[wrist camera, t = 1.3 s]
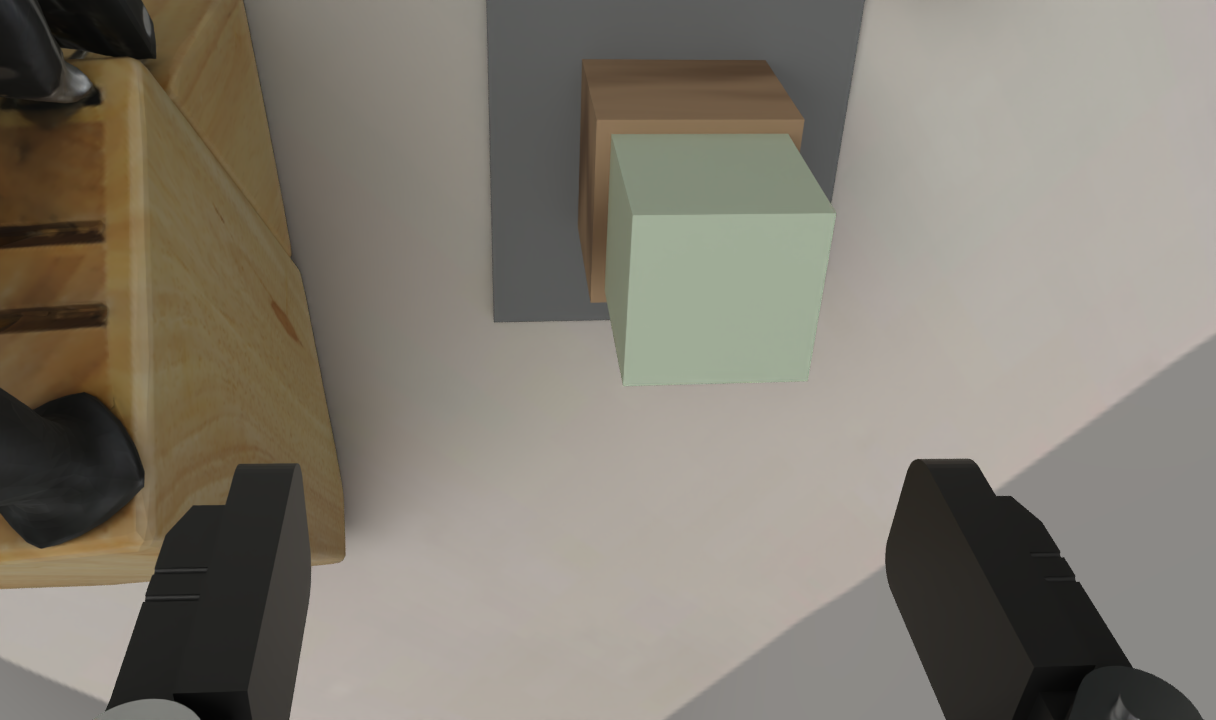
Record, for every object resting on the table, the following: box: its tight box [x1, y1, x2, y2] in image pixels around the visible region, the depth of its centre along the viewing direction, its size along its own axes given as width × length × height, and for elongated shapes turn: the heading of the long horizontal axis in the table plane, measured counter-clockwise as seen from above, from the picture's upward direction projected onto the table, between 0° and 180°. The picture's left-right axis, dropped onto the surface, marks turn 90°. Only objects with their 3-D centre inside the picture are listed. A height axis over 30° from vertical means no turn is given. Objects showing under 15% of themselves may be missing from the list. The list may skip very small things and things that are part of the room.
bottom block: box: [578, 59, 805, 303], centre depth 41 cm, size 7×7×6 cm
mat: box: [487, 0, 865, 322], centre depth 44 cm, size 16×14×1 cm
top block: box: [605, 134, 836, 386], centre depth 36 cm, size 6×6×6 cm
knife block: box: [0, 0, 345, 589], centre depth 30 cm, size 11×35×31 cm, turn 1°
